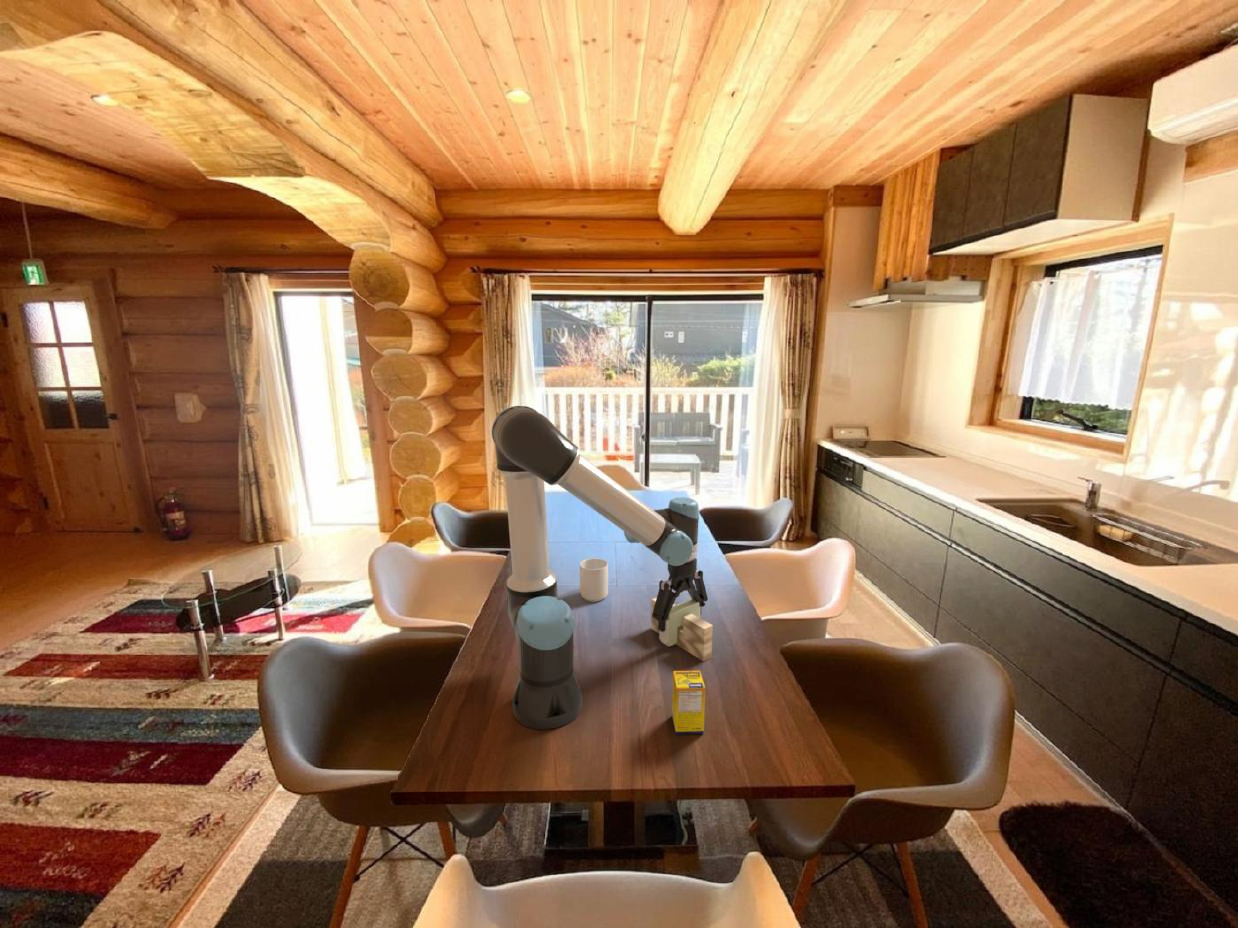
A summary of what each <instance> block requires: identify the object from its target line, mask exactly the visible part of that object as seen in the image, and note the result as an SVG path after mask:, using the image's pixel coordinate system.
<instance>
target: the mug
mask: <svg viewBox="0 0 1238 928" xmlns="http://www.w3.org/2000/svg"><path fill="white" fill-rule="evenodd" d="M579 585H580V586H579V587H580V588H579V589H580V590H579V591H580V592H579V593H580V596H581V598H583V600H585V601H588V602H591V603H593V602H595V603H597V602H600V601H602V600H605V598H607V596H608V594H609V562H608V561H607V560H604V559H602V558H586V559H584V560H582V561H580V564H579Z"/></svg>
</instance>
